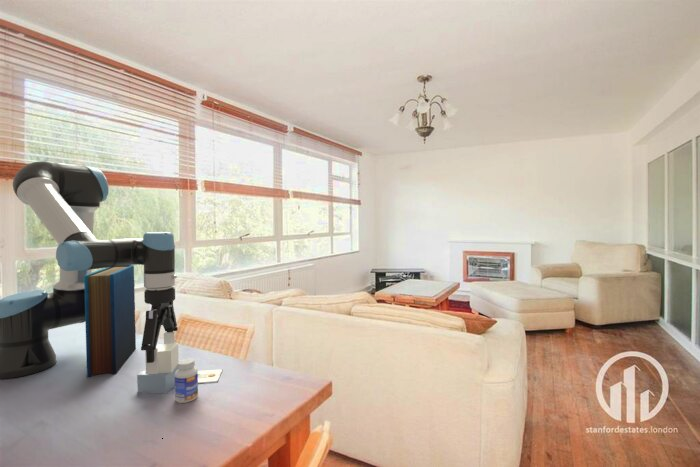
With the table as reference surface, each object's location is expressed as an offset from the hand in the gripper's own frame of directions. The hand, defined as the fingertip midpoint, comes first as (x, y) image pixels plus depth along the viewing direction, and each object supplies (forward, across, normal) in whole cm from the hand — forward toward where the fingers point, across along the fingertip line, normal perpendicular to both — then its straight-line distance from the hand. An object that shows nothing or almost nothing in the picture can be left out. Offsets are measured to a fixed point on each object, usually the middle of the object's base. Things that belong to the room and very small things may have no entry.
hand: (161, 363), depth 97 cm
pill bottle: (+6, -9, -9) cm, 14 cm away
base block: (+6, 0, 0) cm, 6 cm away
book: (+6, +21, +22) cm, 31 cm away
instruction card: (+6, +3, -10) cm, 12 cm away
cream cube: (+1, 0, -1) cm, 2 cm away
